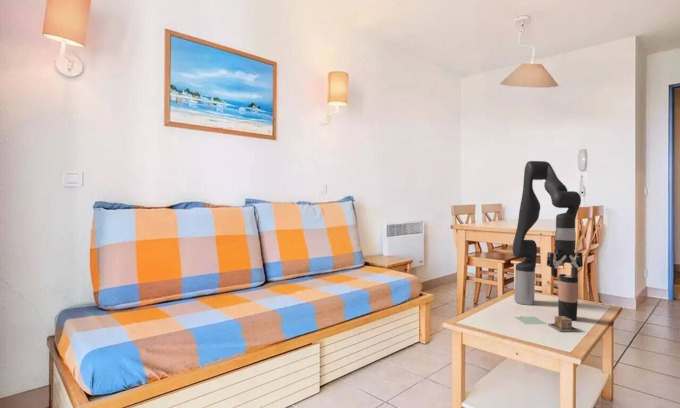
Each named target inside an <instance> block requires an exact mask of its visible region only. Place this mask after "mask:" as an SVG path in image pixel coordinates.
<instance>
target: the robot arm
mask: <svg viewBox="0 0 680 408" xmlns="http://www.w3.org/2000/svg"><path fill="white" fill-rule="evenodd" d="M523 171H524V174H523V184H522V185H523V187H522V194H521V199H520V205H519V213H518V220H517V225H516V226H517V227H516V230H515V235H514V238H513V242H512V254H513V256H514V257H516V258H525V259H524V260H523V261H521V262H518V263H516V264H515V278H514V280H515V281H514V302H515V303H516V304H520V305H525V306H526V305H528V306H529V305H535V293H536V292H535V291H536V290H535V286H536V283H535V282H536V265H537V255H538V246H537V243H536V241H535V240H533V239H525V238H526V235H527V233H528V232H529V230H530V229H531V228H532V227H533V226H534V225H535V224H536V223H537V222H538V220H539V217H540V212H541V203H540V201H539V199H538V197H537V195H536V193H535V191H534V188H533V182H534V181H543V180H544V185H543V186H544V190H545V191H546V193H548V195H549V196H550V199H551V204H552V206H553V207H555V208H558V209H567V210H566V211H565V212H564V213H563V212H562V213H560V214H556V217H555V232H554V250H555V251H554V252H550V251H548V252H547V257H546V266H547V267H549V268H551V273H550V274H551V276H552V277H553V278H558V267H559V266H560V265H561V264H566V263H567V264H570V266H571V275H572V277H577V276H579V275H578V274H579V273H578V270H579V268H582V267H583V265H584V261H583V253H582V252H578V251H576V246H577V245H576V244H577V243H576V238H577V237H576V236H577V235H576V219H577V214H578V211H579V208H580V206H581V201H582V198H581V195H580V193H579V192H577V191H573V190H572V191H569V190H568V188H567V187H566V185H565V184H564V183H563V182H562V181H561V180H560V178H559V177H558V176H557V174H556V172H555V170H554V168H553V166H552V165H551V163H549V162H548V161H545V160H542V161H541V160H529V161H527V162H526V164H525V167H524V170H523ZM575 251H576V252H575Z"/></svg>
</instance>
